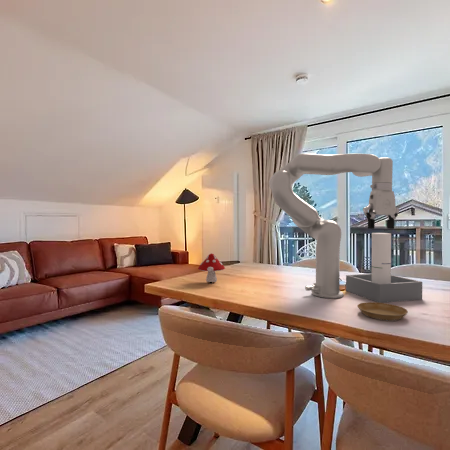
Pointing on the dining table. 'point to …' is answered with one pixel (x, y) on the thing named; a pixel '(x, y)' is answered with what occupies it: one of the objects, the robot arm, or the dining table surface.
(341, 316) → the dining table surface
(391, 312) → the plant saucer
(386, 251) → the cylindrical container
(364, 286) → the walled bin
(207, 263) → the decorative mushroom
